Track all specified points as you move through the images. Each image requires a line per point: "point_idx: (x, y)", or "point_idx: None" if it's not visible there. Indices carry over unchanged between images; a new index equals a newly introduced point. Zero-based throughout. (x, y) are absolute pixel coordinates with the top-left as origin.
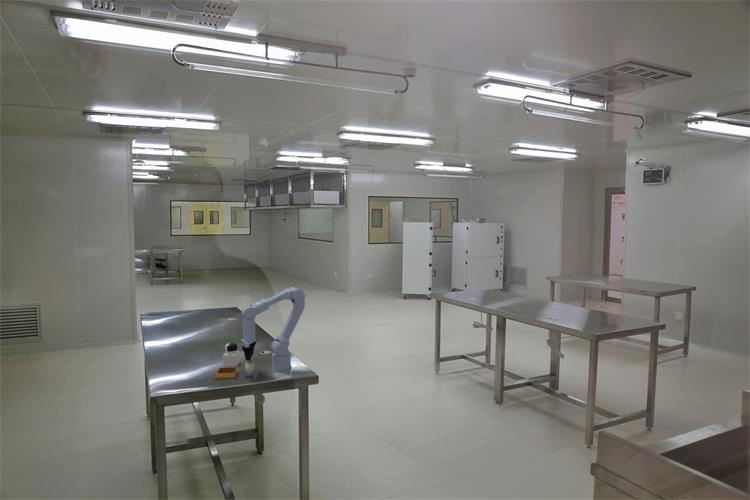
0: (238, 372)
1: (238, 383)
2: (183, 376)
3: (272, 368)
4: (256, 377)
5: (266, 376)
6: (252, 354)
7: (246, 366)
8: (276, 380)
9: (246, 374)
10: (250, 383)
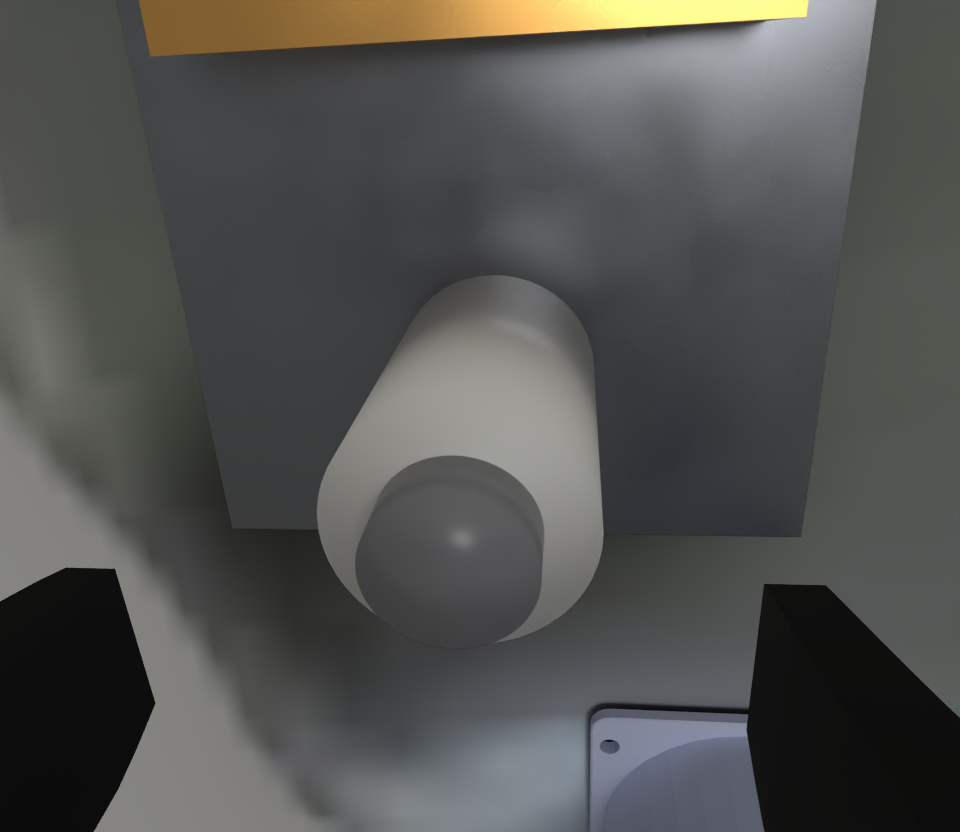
0: (708, 32)
1: (49, 186)
2: None
3: (706, 796)
4: (309, 525)
5: (498, 644)
6: (760, 784)
7: (365, 406)
8: (294, 779)
9: (416, 318)
10: (95, 426)
